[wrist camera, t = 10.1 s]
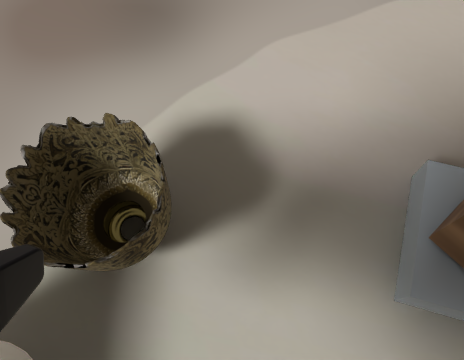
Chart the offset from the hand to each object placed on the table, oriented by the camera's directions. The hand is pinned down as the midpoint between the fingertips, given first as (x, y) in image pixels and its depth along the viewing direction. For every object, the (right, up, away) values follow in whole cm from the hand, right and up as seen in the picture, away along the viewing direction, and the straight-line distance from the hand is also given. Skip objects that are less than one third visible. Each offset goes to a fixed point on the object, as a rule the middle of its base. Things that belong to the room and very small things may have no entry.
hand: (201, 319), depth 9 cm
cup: (-6, 0, +15) cm, 16 cm away
